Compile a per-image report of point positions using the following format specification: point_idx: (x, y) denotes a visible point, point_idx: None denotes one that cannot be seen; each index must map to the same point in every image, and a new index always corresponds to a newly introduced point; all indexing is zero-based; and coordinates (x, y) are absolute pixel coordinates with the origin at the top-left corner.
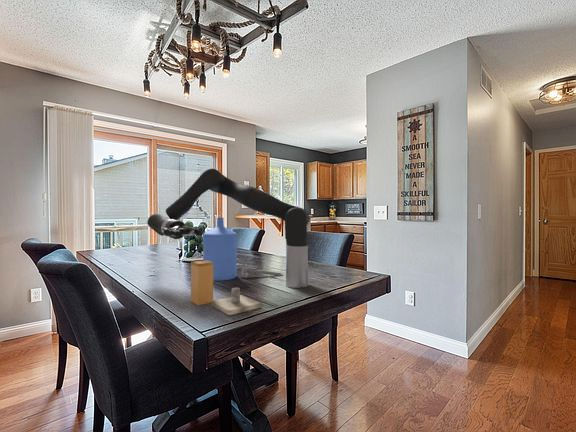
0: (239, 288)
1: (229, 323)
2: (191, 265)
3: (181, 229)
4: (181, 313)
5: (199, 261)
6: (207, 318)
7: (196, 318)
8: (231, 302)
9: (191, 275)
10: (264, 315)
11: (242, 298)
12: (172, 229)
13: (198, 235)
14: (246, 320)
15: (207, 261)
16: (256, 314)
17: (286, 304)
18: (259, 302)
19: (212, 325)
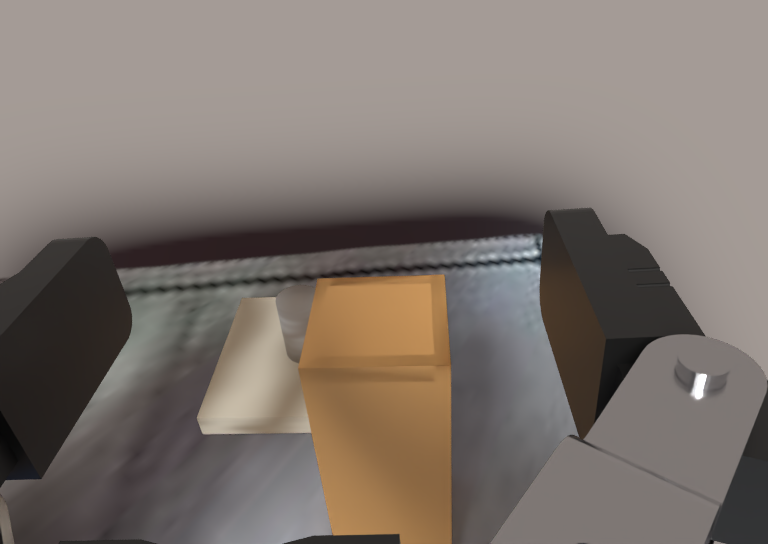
0: (280, 293)
1: (434, 266)
2: (450, 384)
3: (328, 541)
4: (562, 417)
5: (382, 344)
6: (479, 323)
7: (517, 341)
8: None
9: (450, 444)
10: (302, 263)
11: (243, 371)
12: (729, 349)
13: (105, 368)
14: (376, 261)
15: (330, 316)
16: (314, 278)
17: (152, 293)
18: (240, 303)
19: (489, 276)
